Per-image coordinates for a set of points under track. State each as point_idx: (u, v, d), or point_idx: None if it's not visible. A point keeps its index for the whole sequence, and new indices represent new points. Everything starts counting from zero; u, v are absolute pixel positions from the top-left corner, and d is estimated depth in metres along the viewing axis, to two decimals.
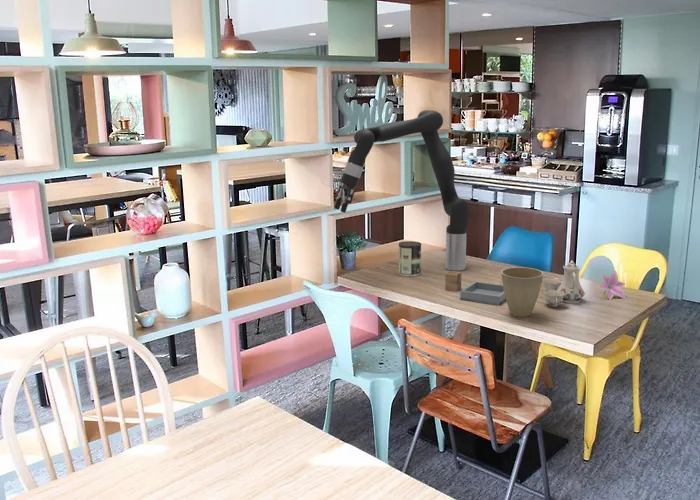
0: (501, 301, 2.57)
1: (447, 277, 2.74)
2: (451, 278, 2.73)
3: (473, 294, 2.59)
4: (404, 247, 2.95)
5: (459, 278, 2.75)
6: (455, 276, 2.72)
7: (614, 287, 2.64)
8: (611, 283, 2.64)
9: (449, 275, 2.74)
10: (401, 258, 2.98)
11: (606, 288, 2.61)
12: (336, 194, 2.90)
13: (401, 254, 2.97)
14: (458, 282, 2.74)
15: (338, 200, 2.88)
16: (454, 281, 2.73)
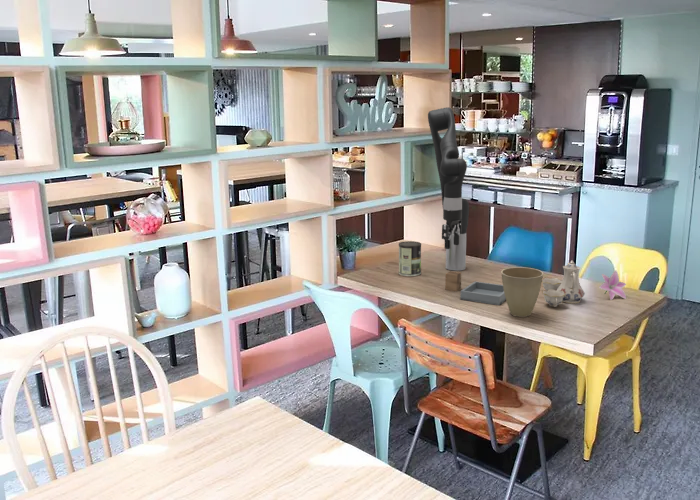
0: (501, 301, 2.57)
1: (447, 277, 2.74)
2: (451, 278, 2.73)
3: (473, 294, 2.59)
4: (404, 247, 2.95)
5: (459, 278, 2.75)
6: (455, 276, 2.72)
7: (615, 287, 2.63)
8: (612, 283, 2.64)
9: (449, 275, 2.74)
10: (401, 258, 2.98)
11: (607, 288, 2.61)
12: (447, 236, 2.65)
13: (401, 254, 2.97)
14: (458, 282, 2.74)
15: None
16: (454, 281, 2.73)
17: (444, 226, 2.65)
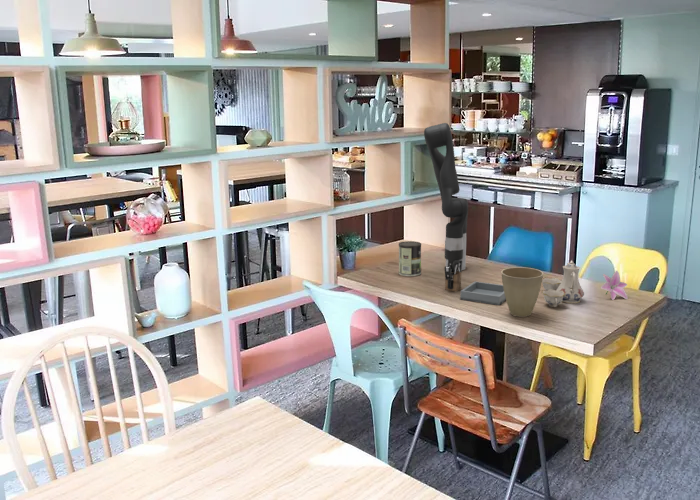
0: (501, 301, 2.57)
1: None
2: None
3: (473, 294, 2.59)
4: (404, 247, 2.95)
5: (459, 278, 2.75)
6: (455, 276, 2.72)
7: (616, 287, 2.63)
8: (613, 283, 2.63)
9: None
10: (401, 258, 2.98)
11: (608, 288, 2.60)
12: (450, 277, 2.70)
13: (401, 254, 2.97)
14: (458, 282, 2.74)
15: None
16: (454, 281, 2.73)
17: (446, 268, 2.69)
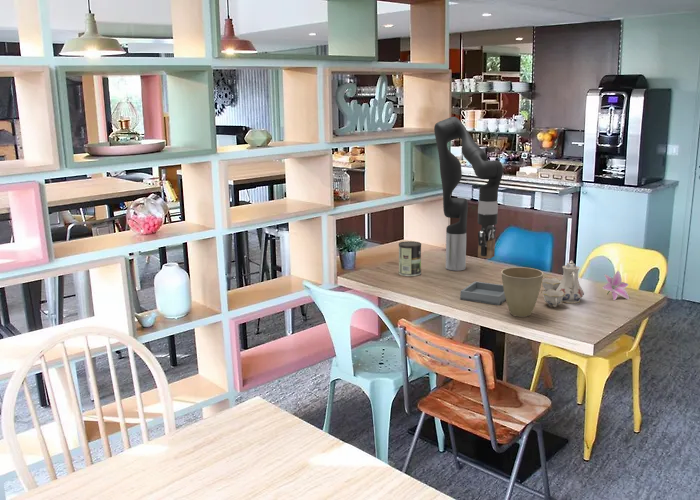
0: (501, 301, 2.57)
1: None
2: None
3: (473, 294, 2.59)
4: (404, 247, 2.95)
5: (493, 245, 2.60)
6: (489, 242, 2.57)
7: (617, 287, 2.63)
8: (615, 284, 2.63)
9: None
10: (401, 258, 2.98)
11: (610, 289, 2.60)
12: (484, 243, 2.55)
13: (401, 254, 2.97)
14: (492, 249, 2.59)
15: None
16: (488, 247, 2.58)
17: (480, 234, 2.54)
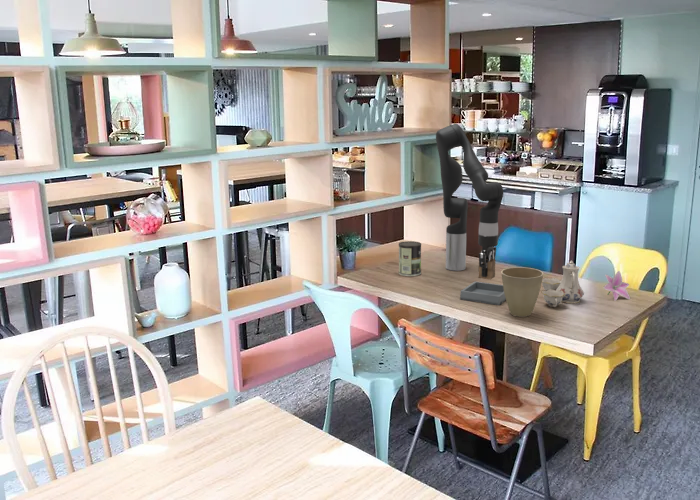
0: (501, 301, 2.57)
1: None
2: None
3: (473, 294, 2.59)
4: (404, 247, 2.95)
5: (493, 265, 2.62)
6: (489, 263, 2.59)
7: (618, 288, 2.63)
8: (615, 284, 2.63)
9: (483, 262, 2.60)
10: (401, 258, 2.98)
11: (611, 289, 2.60)
12: (485, 264, 2.57)
13: (401, 254, 2.97)
14: (492, 270, 2.61)
15: None
16: (488, 268, 2.60)
17: (481, 255, 2.56)
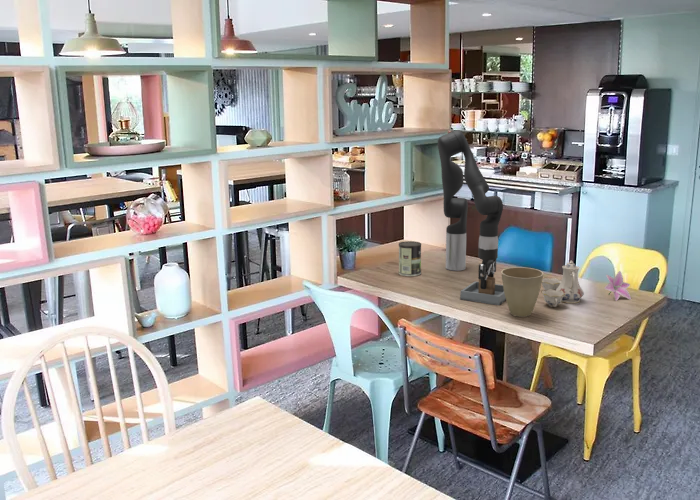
0: (501, 301, 2.57)
1: (480, 282, 2.63)
2: None
3: (473, 294, 2.59)
4: (404, 247, 2.95)
5: (493, 283, 2.63)
6: (489, 281, 2.61)
7: (619, 288, 2.62)
8: (616, 284, 2.63)
9: None
10: (401, 258, 2.98)
11: (612, 289, 2.60)
12: (484, 276, 2.57)
13: (401, 254, 2.97)
14: (492, 288, 2.63)
15: None
16: (488, 287, 2.61)
17: (481, 266, 2.57)
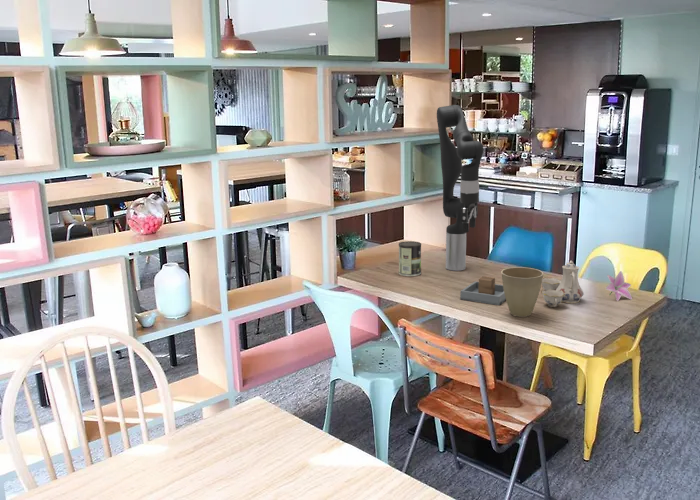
0: (501, 301, 2.57)
1: (480, 282, 2.63)
2: (485, 283, 2.62)
3: (473, 294, 2.59)
4: (404, 247, 2.95)
5: (493, 283, 2.63)
6: (489, 281, 2.61)
7: (620, 288, 2.62)
8: (617, 284, 2.62)
9: (483, 280, 2.62)
10: (401, 258, 2.98)
11: (613, 289, 2.59)
12: (466, 219, 2.64)
13: (401, 254, 2.97)
14: (492, 288, 2.63)
15: None
16: (488, 287, 2.61)
17: (463, 209, 2.64)
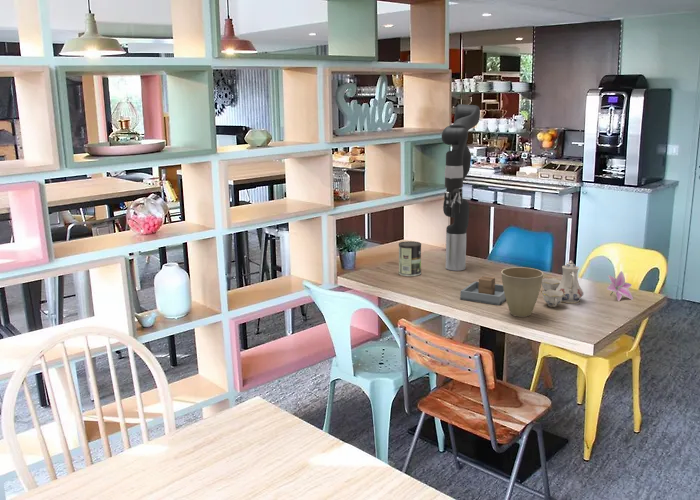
0: (501, 301, 2.57)
1: (480, 282, 2.63)
2: (485, 283, 2.62)
3: (473, 294, 2.59)
4: (404, 247, 2.95)
5: (493, 283, 2.63)
6: (489, 281, 2.61)
7: (621, 288, 2.62)
8: (618, 284, 2.62)
9: (483, 280, 2.62)
10: (401, 258, 2.98)
11: (614, 289, 2.59)
12: (449, 203, 2.71)
13: (401, 254, 2.97)
14: (492, 288, 2.63)
15: None
16: (488, 287, 2.61)
17: (446, 193, 2.71)
